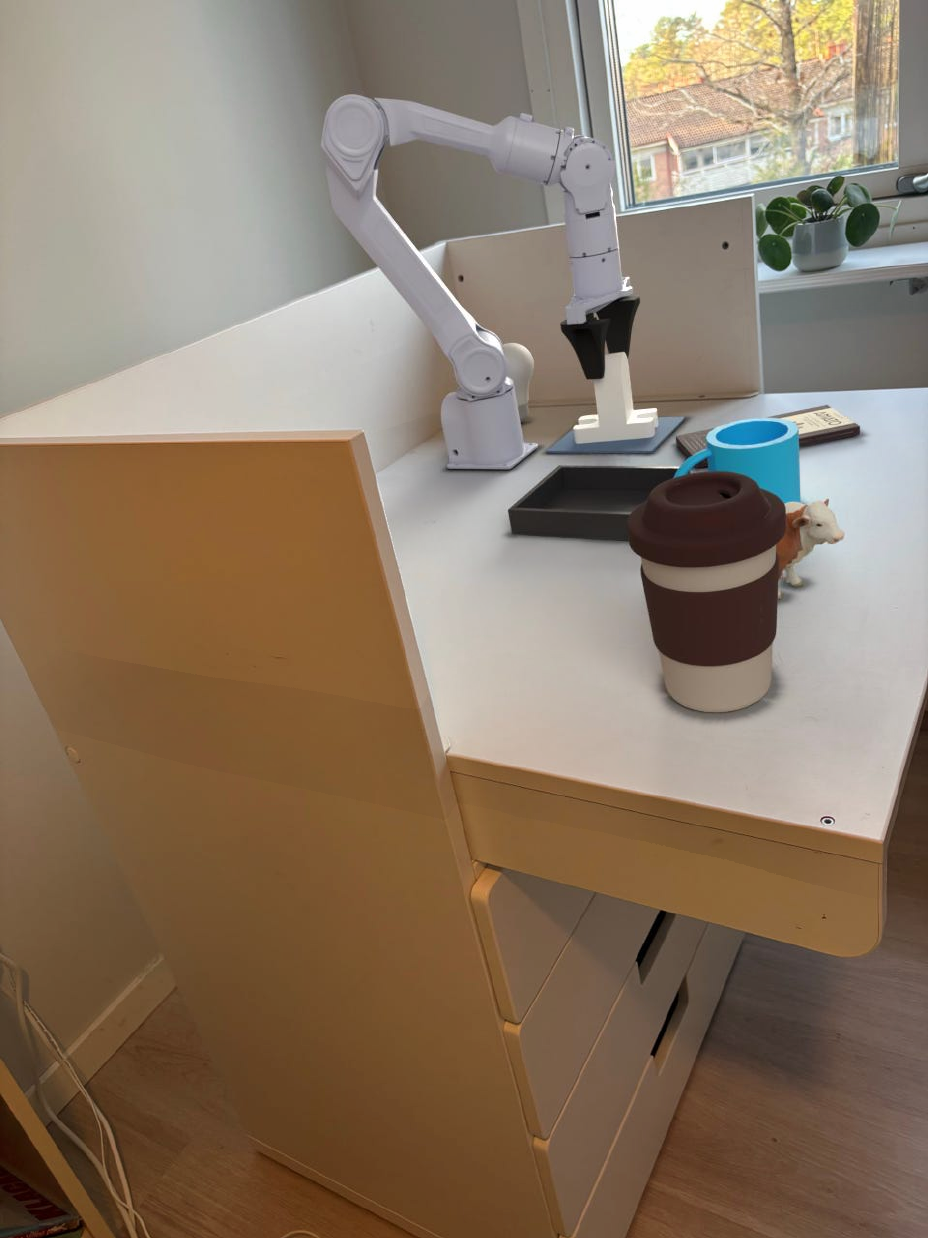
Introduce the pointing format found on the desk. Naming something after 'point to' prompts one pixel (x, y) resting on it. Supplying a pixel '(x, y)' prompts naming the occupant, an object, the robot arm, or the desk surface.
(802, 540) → the bull figurine
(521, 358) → the lightbulb
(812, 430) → the chocolate bar
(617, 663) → the desk surface
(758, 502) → the coffee cup
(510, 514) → the tray
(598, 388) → the cable organizer
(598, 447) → the cloth
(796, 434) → the mug
